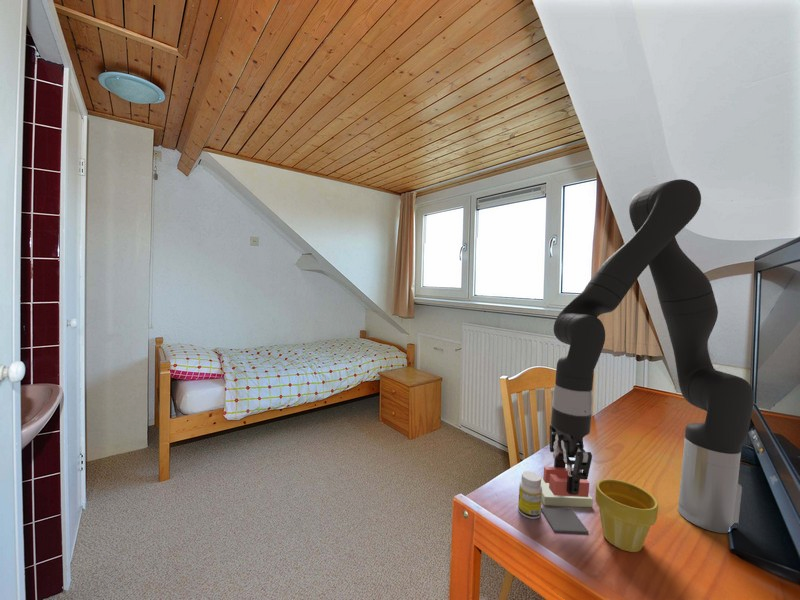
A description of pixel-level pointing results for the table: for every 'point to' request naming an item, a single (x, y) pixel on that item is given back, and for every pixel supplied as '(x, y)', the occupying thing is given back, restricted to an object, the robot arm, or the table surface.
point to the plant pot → (625, 513)
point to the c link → (563, 482)
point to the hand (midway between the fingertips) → (565, 484)
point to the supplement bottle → (530, 495)
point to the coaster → (564, 520)
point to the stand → (563, 498)
